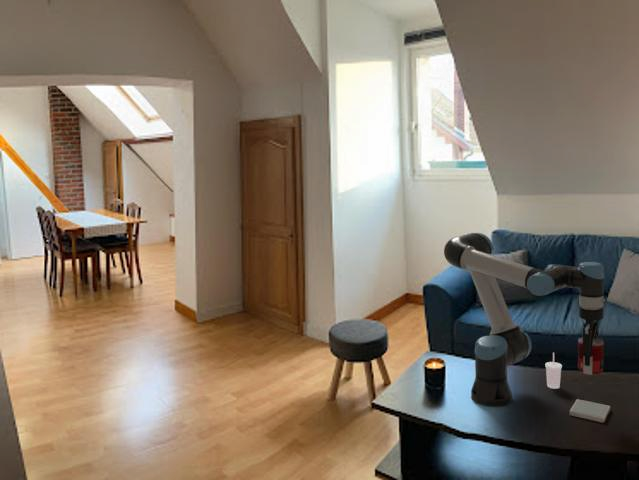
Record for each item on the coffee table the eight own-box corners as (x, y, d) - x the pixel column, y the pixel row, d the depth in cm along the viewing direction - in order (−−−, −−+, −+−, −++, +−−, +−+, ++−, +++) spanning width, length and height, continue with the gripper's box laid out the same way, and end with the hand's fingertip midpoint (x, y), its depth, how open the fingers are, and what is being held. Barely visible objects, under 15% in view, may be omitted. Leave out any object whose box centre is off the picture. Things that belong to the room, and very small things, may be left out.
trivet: (569, 415, 193) (569, 410, 193) (576, 402, 201) (576, 398, 201) (603, 422, 186) (603, 418, 186) (610, 409, 195) (610, 405, 194)
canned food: (606, 374, 187) (606, 344, 185) (581, 374, 188) (581, 343, 187) (599, 366, 194) (600, 336, 192) (575, 365, 196) (575, 336, 194)
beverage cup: (542, 383, 220) (543, 350, 217) (558, 382, 219) (558, 349, 217) (547, 389, 214) (548, 355, 211) (564, 389, 213) (564, 355, 211)
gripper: (596, 316, 177) (595, 382, 181) (609, 300, 193) (608, 361, 197) (572, 313, 182) (571, 377, 186) (586, 298, 198) (585, 358, 201)
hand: (590, 369), depth 191 cm, fingers closed on canned food, 8 cm apart
